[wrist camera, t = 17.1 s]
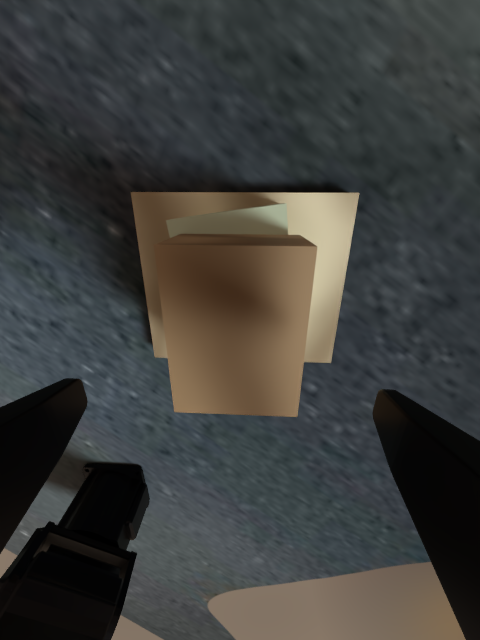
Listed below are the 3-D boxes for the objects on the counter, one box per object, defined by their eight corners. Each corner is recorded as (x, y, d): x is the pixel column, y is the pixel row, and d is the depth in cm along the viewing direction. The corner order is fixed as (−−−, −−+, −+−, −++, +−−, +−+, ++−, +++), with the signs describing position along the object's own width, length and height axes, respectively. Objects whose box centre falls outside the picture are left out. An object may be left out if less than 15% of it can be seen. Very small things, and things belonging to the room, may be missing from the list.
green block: (211, 351, 21) (202, 383, 17) (184, 216, 17) (165, 220, 13) (288, 344, 20) (296, 375, 17) (279, 203, 16) (286, 203, 13)
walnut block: (192, 366, 17) (174, 411, 13) (181, 233, 13) (153, 244, 10) (287, 369, 16) (296, 416, 13) (300, 234, 13) (317, 246, 9)
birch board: (160, 348, 23) (154, 357, 21) (140, 193, 18) (130, 192, 16) (325, 352, 22) (330, 362, 21) (350, 193, 17) (359, 192, 16)
